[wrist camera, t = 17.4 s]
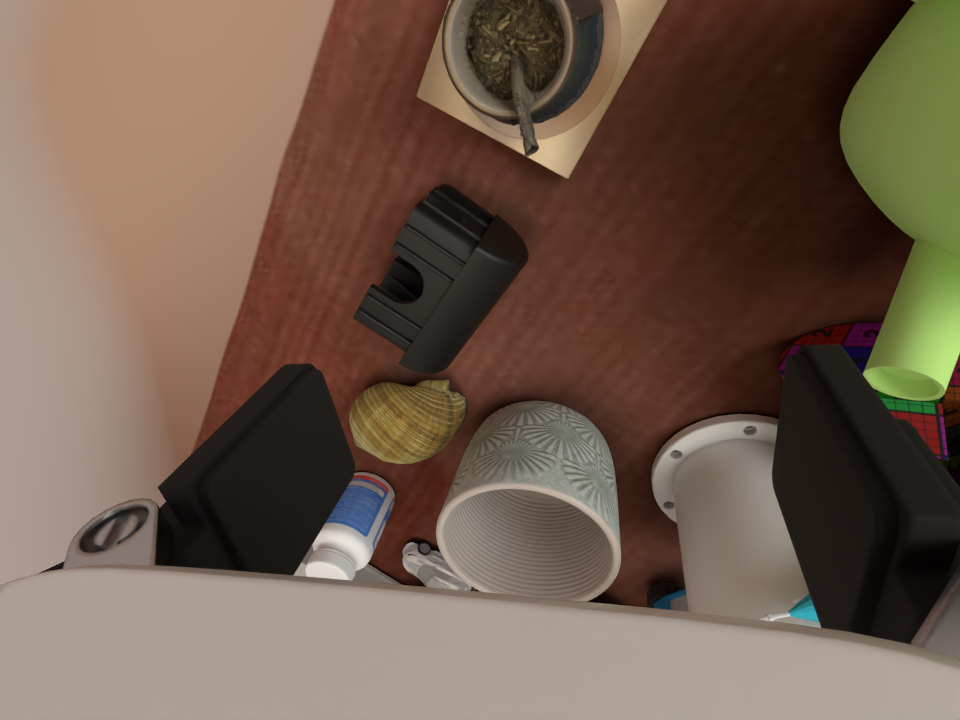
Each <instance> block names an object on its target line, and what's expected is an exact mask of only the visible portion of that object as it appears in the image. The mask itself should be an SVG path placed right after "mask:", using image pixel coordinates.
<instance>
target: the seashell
mask: <svg viewBox="0 0 960 720" xmlns="http://www.w3.org/2000/svg"><path fill="white" fill-rule="evenodd" d="M449 383H450V381H449V380H426V381H422V382H419V383H418V384H417V385H415V386H414V387H409V386H404V385H400V384H398V383H390V382H383V383H378V384H375V385H373V386H371V387H370V388H368V389H366V390H365V391H363V392H362V393H361V394H360V395H359V396H358V398H357V399H356V400H355V401H354V404H353V405H352V407H351V410H350V412H349V423H350V427H351V430H352V433H353V438H354V444H355V446H357V447H359V448H361V449H364V450H365V451H367V452H370V453H371V454H373V455H375V456H376V457H378V458H379V459H380V460H382V461H387V462H392V463H396V464H405V463H408V464H411V463H414V462H419V461H422V460H424V459H429V458H430V457H432V456H433V455H436V454H437V453H438V452H439V451H441V450H442V449H443V448H444V447H445V446H447V445H448V444H449V442H450V441H451V440H452V439H453V438H454V436H455V435H456V434H457V432H458V431H459V429H460V427H461V425H462V424H463V422H464V418H465V416H466V411H467V409H466V408H467V402H466V399H465V397H463V396H461V395H460V394H459V393H457V392H451V391H450V390H449V388H450V386H449Z"/></svg>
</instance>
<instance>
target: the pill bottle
mask: <svg viewBox="0 0 960 720" xmlns="http://www.w3.org/2000/svg"><path fill="white" fill-rule="evenodd" d="M394 503H395V493H394V491H393V489H392V487H391V486H390V485H389V483H388V482H386V481H385V480H384V479H382V478H381V477H379V476H377V475H374V474H371V473H366V472H357V473H354V476H353V478H352V480H351V482H350V483H349V485H348V487H347V488H346V490H345V492H344V493H343V495H342V496H341V498H340V500H339V501H338V503H337V505H336V506H335V508H334V510H333V511H332V513H331V515H330V516H329V518H328V520H327V521H326V523H325V524H324V526H323V528H322V529H321V531H320V533H319V534H318V536H317V538H316V539H315V541H314V543H313V544H312V546H313V550H314V553H313V554H312V555H311V557H310V559H309V561H308V563H307V565H306V568H305V573H306V575H307V577H317V578H329V579H341V580H353V578H354V576H355V572H356V571H357V570H360V569H362V568H363V567H365V566H366V565H367V564H368V562H369V561H370V559H371V557H372V554H373V552H374V550H375V548H376V545H377V543H378V541H379V539H380V536H381V534H382V532H383V529H384V527H385V525H386V523H387V520H388V518H389V516H390V513H391V511H392V509H393V506H394Z"/></svg>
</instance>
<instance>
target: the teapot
mask: <svg viewBox="0 0 960 720" xmlns="http://www.w3.org/2000/svg"><path fill="white" fill-rule="evenodd" d="M911 1H913V2H915V3H914V4H913V5H912V6H911V8H910V9H909V10H908V11H907V13H906V14H905V15H904V17H903V18H902V19H901V21H900V22H899V23H898V25H897V26H896V28H895V29H894V30H893V32H892V33H891V34H890V36H889V37H888V38H887V40H886V41H885V42H884V44H883V45H882V46H881V48H880V49H879V50H878V52H877V53H876V55H875V56H874V58H873V59H872V61H871V62H870V64H869V65H868V67H867V68H866V70H865V71H864V73H863V74H862V76H861V77H860V79H859V80H858V82H857V83H856V85H855V86H854V88H853V89H852V92H851V94H850V96H849V98H848V100H847V102H846V105H845V107H844V109H843V113H842V118H841V123H840V143H841V147H842V150H843V153H844V156H845V159H846V161H847V163H848V165H849V167H850V169H851V170H852V172H853V174H854V175H855V177H856V179H857V181H858V182H859V184H860V185H861V186H862V188H863V189H864V190H865V192H866V193H867V194H868V196H869V197H870V198H871V200H872V201H873V202H874V203H875V204H876V205H877V206H878V208H879V209H880V210H881V211H882V212H883V213H884V214H885V215H886V216H887V217H888V218H889V219H890V220H891V221H892V222H893V223H894V224H895V225H896V226H898V227H899V228H900V229H901V230H902V231H903V232H904V233H906V234H907V235H909V236H910V237H911V238H913V239H914V240H915V242H914V245H913V247H912V250H911V252H910V255H909V257H908V260H907V263H906V265H905V268H904V270H903V273H902V276H901V278H900V281H899V283H898V286H897V288H896V291H895V294H894V296H893V299H892V301H891V304H890V306H889V309H888V312H887V314H886V317H885V319H884V322H883V324H882V327H881V329H880V332H879V335H878V337H877V340H876V342H875V345H874V347H873V350H872V352H871V355H870V357H869V360H868V362H867V365H866V367H865V370H864V373H863V375H864V377H865V378H866V380H867V381H868V382H869V384H870V385H871V386H872V387H873V388H874V389H876V390H878V391H880V392H882V393H885V394H888V395H891V396H894V397H898V398H902V399H908V400H917V401H928V400H935V399H939V398H941V397H942V396H943V395H944V394H945V391H946V389H947V386H948V383H949V381H950V378H951V375H952V372H953V370H954V367H955V364H956V362H957V359H958V356H959V354H960V0H911Z"/></svg>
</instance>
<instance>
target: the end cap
mask: <svg viewBox="0 0 960 720" xmlns="http://www.w3.org/2000/svg"><path fill="white" fill-rule="evenodd" d="M427 199H429V200H425V199H423V200H422V201H421V202H419V203H418V204H417V206H416V207H415V208H414V210H413V211H412V213H411V214H410V216H409V218H408V220H407V221H406V223H405V225H404V227H403V229H402V230H401V232H400V234H399V236H398V238H397V239H396V241H395V243H394V245H393V247H392V248H391V251H393V252H394V253H396V254H397V255H398V258H396V259H395V260H394V261H393V263H392V265H391V267H390V268H389V270H388V272H387V274H386V275H385V277H384V279H383V281H382V282H381V284H380V286H379V287H377V286H376V285H374V284H372V285H371V286H370V288H369V290H368V291H367V293H366V295H365V297H364V299H363V300H362V302H361V304H360V306H359V308H358V309H357V311H356V313H355V315H354V317H353V318H354V319H355V320H357V321H358V322H360V323H362V324H363V325H365V326H366V327H368V328H369V329H371V330H372V331H374V332H376V333H377V334H379V335H380V336H382V337H383V338H385V339H387V340H388V341H390V342H391V343H393V344H394V345H396V346H397V347H399V348H401V349H402V350H404V351H405V354H404V356H403V357H402V359H401V361H400V362H399V364H400V365H402V366H404V367H405V368H408V369H410V370H413V371H416V372H420V373H427V374H432V373H438V372H441V371H443V370H445V369H446V368H447V367H448V366H449V365H450V364H451V362H452V361H453V360H454V358H455V357H456V356H457V354H458V353H459V352H460V350H461V349H462V348H463V346H464V345H465V344H466V343H467V341H468V340H469V339H470V337H471V336H472V335H473V333H474V332H475V331H476V329H477V328H478V327H479V325H480V324H481V323H482V321H483V320H484V319H485V317H486V316H487V315H488V313H489V312H490V311H491V309H492V308H493V307H494V305H495V304H496V303H497V301H498V300H499V299H500V297H501V296H502V295H503V293H504V292H505V291H506V289H507V288H508V287H509V285H510V284H511V283H512V281H513V280H514V279H515V277H516V276H517V275H518V273H519V272H520V271H521V269H522V268H523V267H524V266H525V264H526V263H527V261H528V251H527V247H526V245H525V243H524V242H523V240H522V239H521V237H520V236H519V235H518V233H517V232H516V231H515V230H514V229H513V228H512V227H511V226H510V225H509V224H508V223H507V222H506V221H504V220H503V219H502V218H501V217H499V216H498V215H497V214H496V215H495V217H494V216H493V215H492V214H490V213H489V212H487V211H486V210H484V209H483V208H482V207H480V206H479V205H477V204H476V203H474V202H473V201H472V200H470V199H469V198H467V197H466V196H465V195H463V194H462V193H460V192H459V191H457V190H456V189H455V188H453V187H452V186H450V185H447V184H443V185H441V186H440V187H439V188H436V187H435V188H434V189H433V190H432V191H431V192H430V193H429V195H428V197H427Z"/></svg>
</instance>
